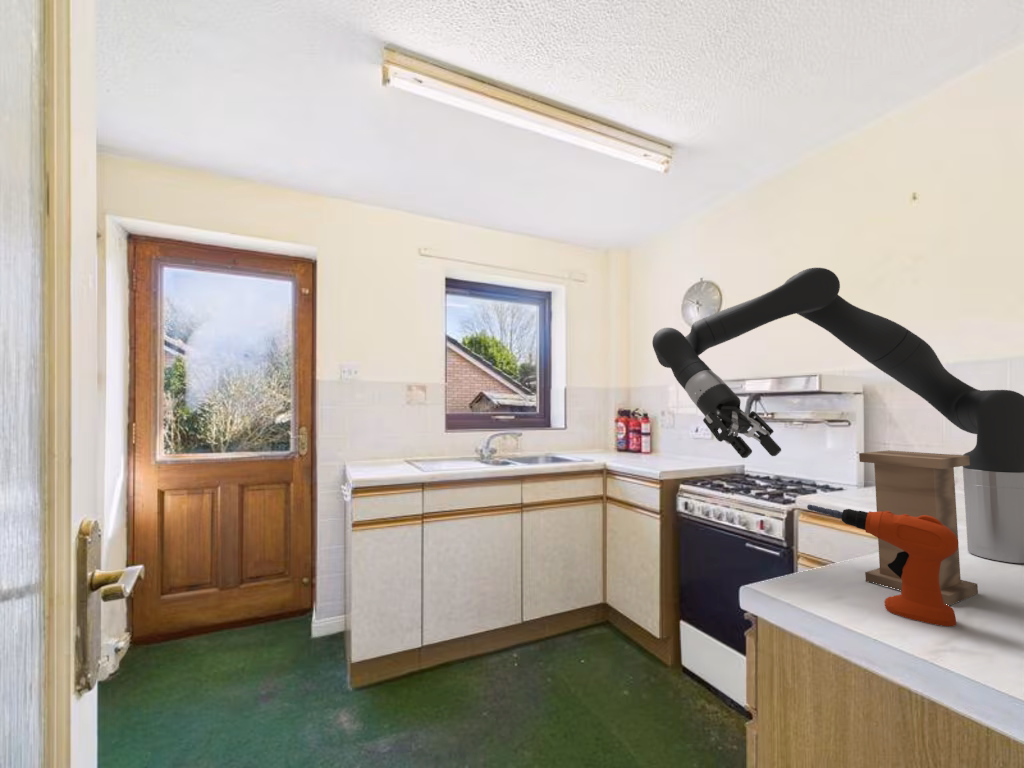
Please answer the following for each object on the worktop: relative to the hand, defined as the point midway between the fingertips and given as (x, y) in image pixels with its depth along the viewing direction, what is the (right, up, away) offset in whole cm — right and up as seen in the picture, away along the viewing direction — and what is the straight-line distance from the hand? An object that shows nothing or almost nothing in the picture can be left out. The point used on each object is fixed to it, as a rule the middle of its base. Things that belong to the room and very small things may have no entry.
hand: (763, 454), depth 85 cm
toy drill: (+8, -20, -17) cm, 28 cm away
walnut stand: (+20, -21, -11) cm, 31 cm away
